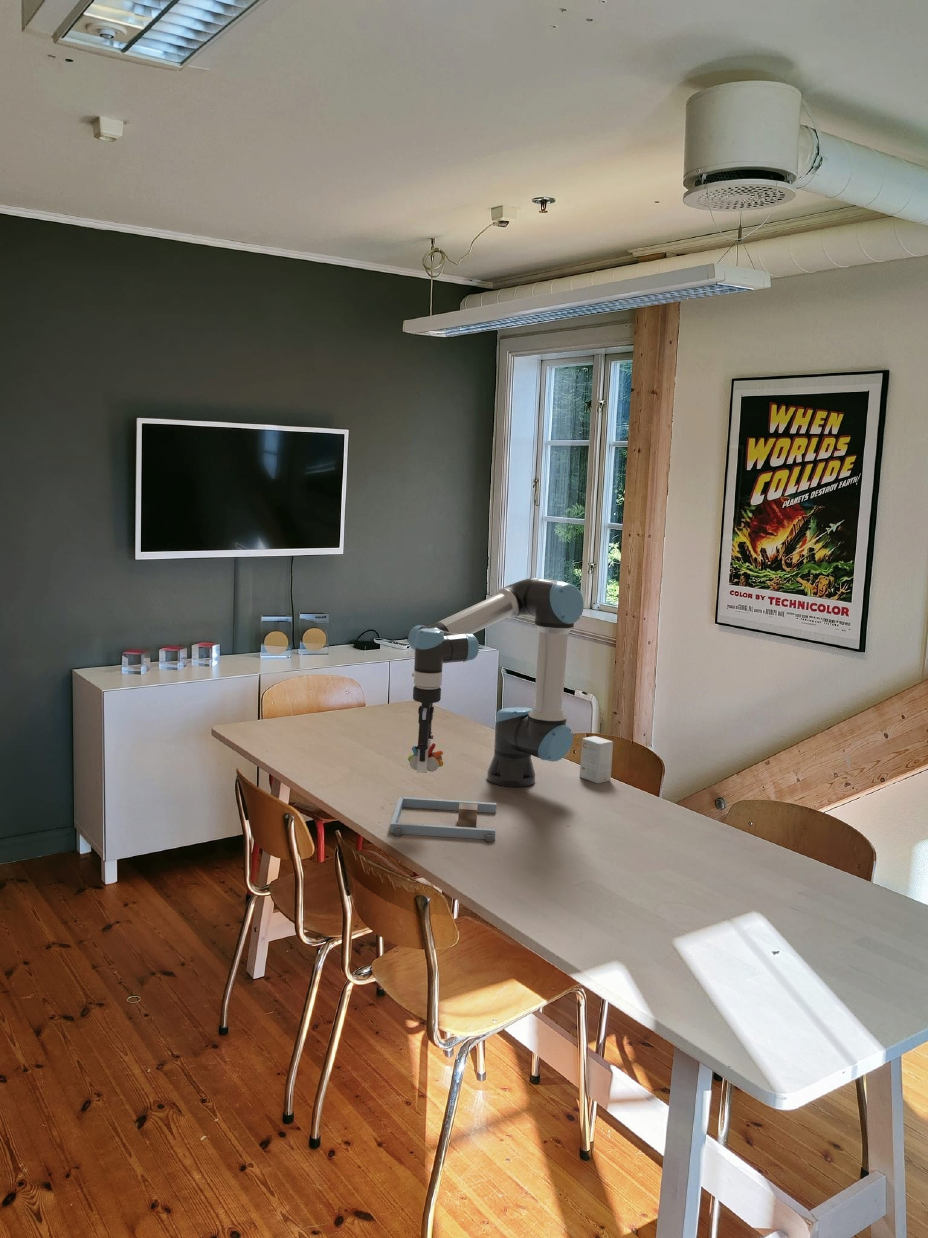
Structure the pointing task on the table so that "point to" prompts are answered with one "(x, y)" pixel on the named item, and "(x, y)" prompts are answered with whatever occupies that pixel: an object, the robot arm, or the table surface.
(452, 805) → the cart frame
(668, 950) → the table surface
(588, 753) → the small box
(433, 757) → the rainbow segmented toy
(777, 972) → the table surface
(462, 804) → the walnut block
